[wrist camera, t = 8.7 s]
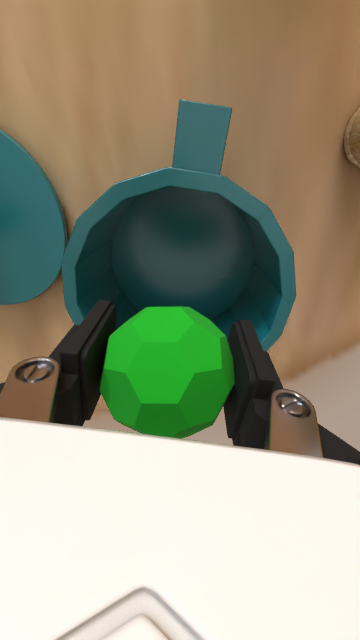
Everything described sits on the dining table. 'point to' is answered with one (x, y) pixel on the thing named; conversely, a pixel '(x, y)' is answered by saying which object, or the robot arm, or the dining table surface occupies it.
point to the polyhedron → (167, 372)
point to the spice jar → (353, 139)
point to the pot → (184, 240)
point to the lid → (27, 226)
